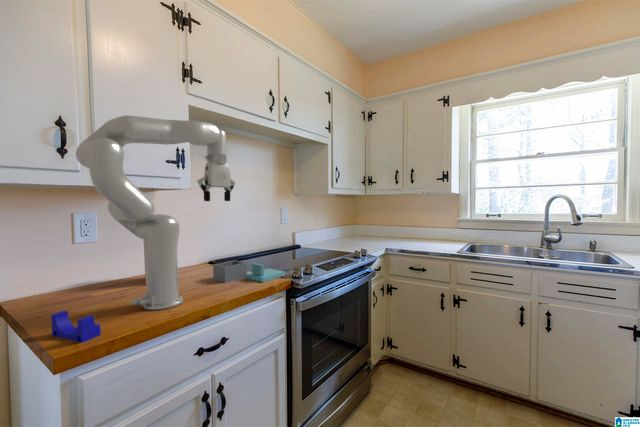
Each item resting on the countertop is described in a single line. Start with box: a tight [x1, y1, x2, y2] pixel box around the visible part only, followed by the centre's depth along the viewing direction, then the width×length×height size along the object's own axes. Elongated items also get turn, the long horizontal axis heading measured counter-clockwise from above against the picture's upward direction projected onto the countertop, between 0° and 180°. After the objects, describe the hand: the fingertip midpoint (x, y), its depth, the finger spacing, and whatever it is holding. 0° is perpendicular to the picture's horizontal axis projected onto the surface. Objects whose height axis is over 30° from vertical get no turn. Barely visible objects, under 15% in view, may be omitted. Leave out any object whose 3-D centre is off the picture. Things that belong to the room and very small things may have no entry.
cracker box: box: [143, 239, 150, 286], centre depth 132 cm, size 14×6×21 cm, turn 25°
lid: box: [245, 262, 287, 283], centre depth 139 cm, size 15×12×7 cm
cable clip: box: [50, 310, 102, 343], centre depth 79 cm, size 12×4×6 cm, turn 71°
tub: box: [212, 259, 248, 284], centre depth 137 cm, size 12×9×7 cm
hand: (217, 201), depth 122 cm, fingers open, 9 cm apart
